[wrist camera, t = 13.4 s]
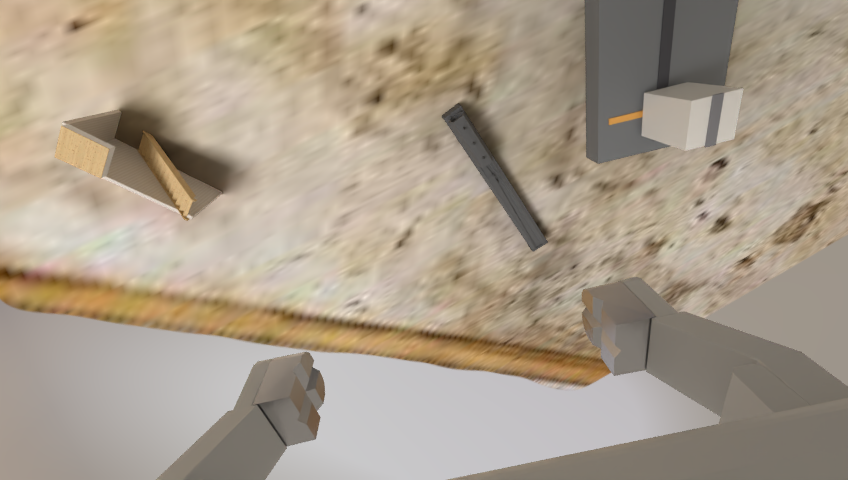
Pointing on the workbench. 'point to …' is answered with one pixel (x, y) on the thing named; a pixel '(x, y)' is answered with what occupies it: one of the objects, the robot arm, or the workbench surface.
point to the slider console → (647, 63)
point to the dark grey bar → (493, 175)
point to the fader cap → (691, 115)
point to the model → (131, 164)
